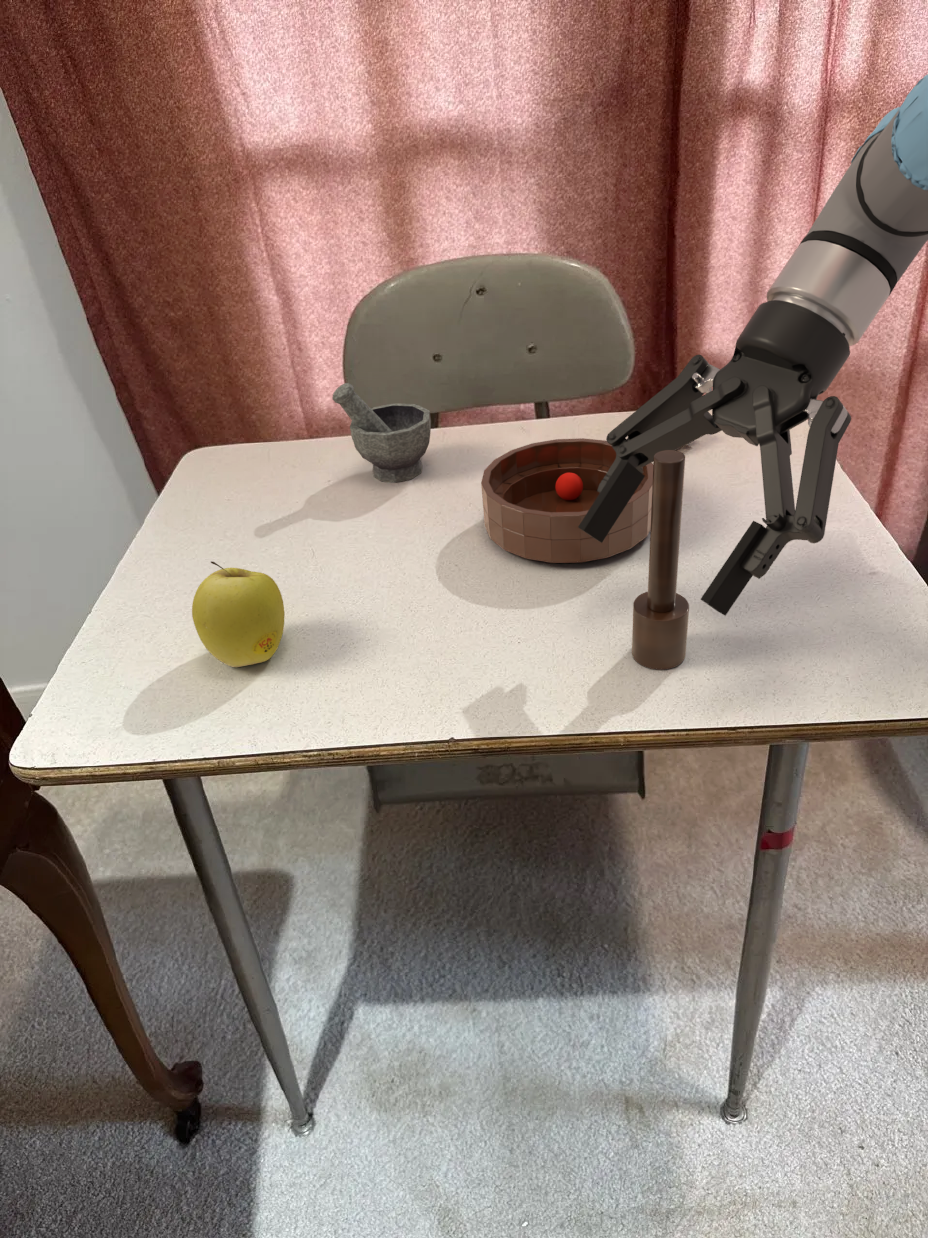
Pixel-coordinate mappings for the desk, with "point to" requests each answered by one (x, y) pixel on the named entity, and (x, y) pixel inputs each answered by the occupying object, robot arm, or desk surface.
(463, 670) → the desk surface
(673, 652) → the brown pestle
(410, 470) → the mortar and pestle
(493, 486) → the bowl
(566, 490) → the red ball
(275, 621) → the apple
